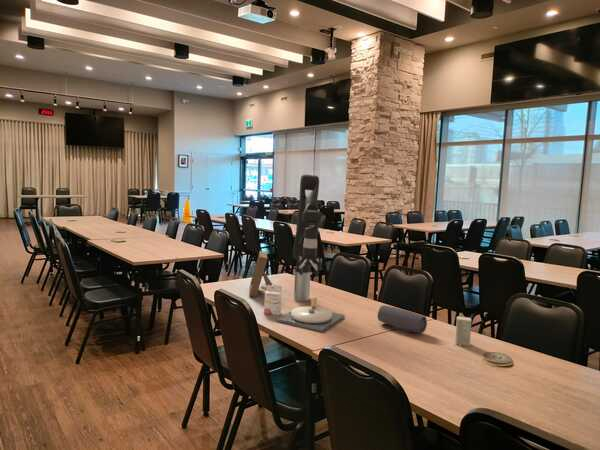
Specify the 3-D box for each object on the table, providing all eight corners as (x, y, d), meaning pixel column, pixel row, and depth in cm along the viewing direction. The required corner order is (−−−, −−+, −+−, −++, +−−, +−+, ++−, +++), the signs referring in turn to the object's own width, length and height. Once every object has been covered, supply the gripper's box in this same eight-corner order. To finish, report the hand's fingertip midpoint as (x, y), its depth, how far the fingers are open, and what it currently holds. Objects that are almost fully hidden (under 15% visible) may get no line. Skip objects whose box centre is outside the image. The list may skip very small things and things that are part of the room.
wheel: (303, 307, 230) (303, 295, 229) (338, 314, 219) (339, 301, 219) (283, 317, 211) (283, 304, 211) (320, 326, 201) (321, 312, 200)
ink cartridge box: (263, 314, 221) (264, 287, 220) (265, 311, 226) (266, 284, 225) (279, 315, 221) (280, 288, 219) (281, 312, 226) (282, 285, 224)
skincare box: (469, 343, 191) (471, 317, 190) (469, 347, 187) (472, 320, 186) (454, 341, 193) (456, 315, 192) (454, 344, 189) (457, 318, 188)
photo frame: (249, 297, 252) (250, 256, 249) (249, 288, 273) (251, 250, 271) (273, 297, 253) (275, 257, 251) (272, 288, 275) (274, 251, 272)
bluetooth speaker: (426, 333, 202) (428, 313, 201) (417, 338, 196) (419, 317, 195) (386, 321, 218) (387, 302, 217) (376, 325, 211) (377, 306, 210)
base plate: (301, 308, 233) (301, 304, 233) (344, 317, 220) (344, 313, 220) (276, 321, 210) (276, 317, 210) (322, 332, 198) (322, 327, 198)
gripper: (324, 247, 229) (322, 276, 230) (300, 245, 234) (298, 273, 235) (320, 248, 222) (318, 278, 223) (295, 246, 227) (293, 275, 228)
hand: (308, 276), depth 229 cm, fingers open, 8 cm apart
